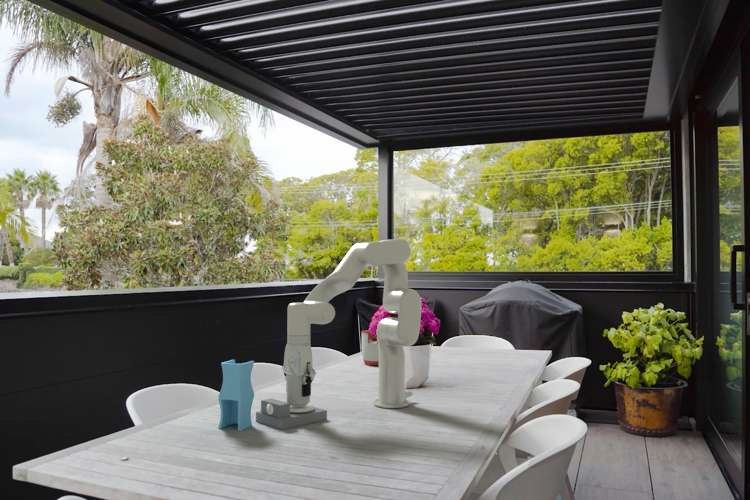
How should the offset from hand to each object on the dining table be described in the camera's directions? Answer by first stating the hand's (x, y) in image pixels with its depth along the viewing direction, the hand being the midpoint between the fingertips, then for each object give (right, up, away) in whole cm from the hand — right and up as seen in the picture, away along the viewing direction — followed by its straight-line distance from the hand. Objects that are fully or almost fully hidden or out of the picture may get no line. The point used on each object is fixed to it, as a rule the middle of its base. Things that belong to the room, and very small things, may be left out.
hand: (298, 393), depth 199 cm
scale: (-2, -8, -2) cm, 9 cm away
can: (0, -4, 0) cm, 4 cm away
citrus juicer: (+25, -12, +114) cm, 117 cm away
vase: (-18, -8, -10) cm, 22 cm away
